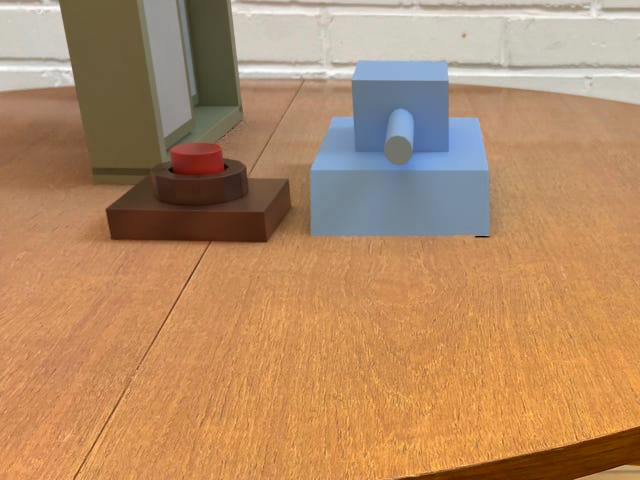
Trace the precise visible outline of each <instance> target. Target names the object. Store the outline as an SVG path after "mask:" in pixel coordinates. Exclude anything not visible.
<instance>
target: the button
mask: <svg viewBox="0 0 640 480" xmlns="http://www.w3.org/2000/svg"><path fill="white" fill-rule="evenodd" d="M170 156H171V162H172V169H173V173H174V174H180V175H205V174H214V173H218V172H221V171H225V169H224V161H223V158H224V153H223V148H222V146H221V145H219V144H216V143H215V144H211V143H189V144H182V145H177V146H174V147H172V148H171V149H170Z"/></svg>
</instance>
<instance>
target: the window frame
mask: <svg viewBox="0 0 640 480" xmlns="http://www.w3.org/2000/svg"><path fill="white" fill-rule="evenodd" d="M186 2H187V9H188V17H189V25H190V32H191V40H192V47H193V55H194V63H195V70H196V78H197V85H198V93H199V100H200V102H199V103H198V104H196V105H195V106H193V102H192V95H191V87H190V80H189V73H188V65H187V58H186V50H185V43H184V36H183V28H182V21H181V13H180V6H179V0H58V4H59V9H60V13H61V14H60V15H61V19H62V23H63V24H62V25H63V29H64V35H65V40H66V41H65V42H66V44H67V45H66V46H67V51H68V56H69V61H70V66H71V71H72V77H73V82H74V86H75V92H76V98H77V103H78V108H79V113H80V117H81V123H82V128H83V133H84V138H85V144H86V148H87V154H88V159H89V165H90V170H91V174H92V180H93V184H94V185H112V186H114V185H115V186H116V185H117V186H120V185H121V186H122V185H124V186H135V185H136V184H138V183H139V182H140V181H141V180H143V179H144V178H145V177H146V176H151V173H150V170H151V169H152V168H153V167H155V166H156V165H157V164H161V163H164V162H168V161H171V156H170V149H171V148H172V147H174V146H177V145H182V144H189V143H211V144H216V143H217V142H218V141H219V140H221V139H222V137H224V136H226V134H228V132H230V131H231V130H232V129H233V128H235V126H237V125H238V124H239V123H240V122H241V121H243V119H244V109H243V100H242V91H241V83H240V82H241V81H240V72H239V63H238V54H237V45H236V37H235V36H236V35H235V27H234V18H233V9H232V0H186Z"/></svg>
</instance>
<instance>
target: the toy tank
mask: <svg viewBox="0 0 640 480" xmlns="http://www.w3.org/2000/svg"><path fill="white" fill-rule="evenodd" d="M449 81H450V80H449V69H448V61H447V60H358V61H357V64H356V66H355V70H354V73H353V74H352V77H351V96H352V97H351V99H352V116H333V117H332V119H331V121H330V123H329V126H328V128H327V130H326V133H325V135H324V137H323V139H322V142H321V144H320V147H319V149H318V151H317V154H316V155H315V158H314V161H313V162H312V165H311V167H310V168H309V169H310V170H309V191H310V193H309V197H310V198H309V199H310V201H309V202H310V205H309V206H310V207H309V208H310V210H309V211H310V212H309V213H310V237H456V236H455V235H480V236H485V235H490V236H491V227H490V226H491V225H490V223H491V221H490V219H491V217H490V213H491V212H490V169H489V164H488V158H487V153H486V148H485V144H484V138H483V134H482V128H481V123H480V120H479V117H476V116H475V117H474V116H473V117H470V116H469V117H467V116H464V117H463V116H461V117H460V116H456V117H455V116H454V117H453V116H450V103H449V102H450V96H449V95H450V94H449V93H450V92H449V90H450V85H449V84H450V82H449Z"/></svg>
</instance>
